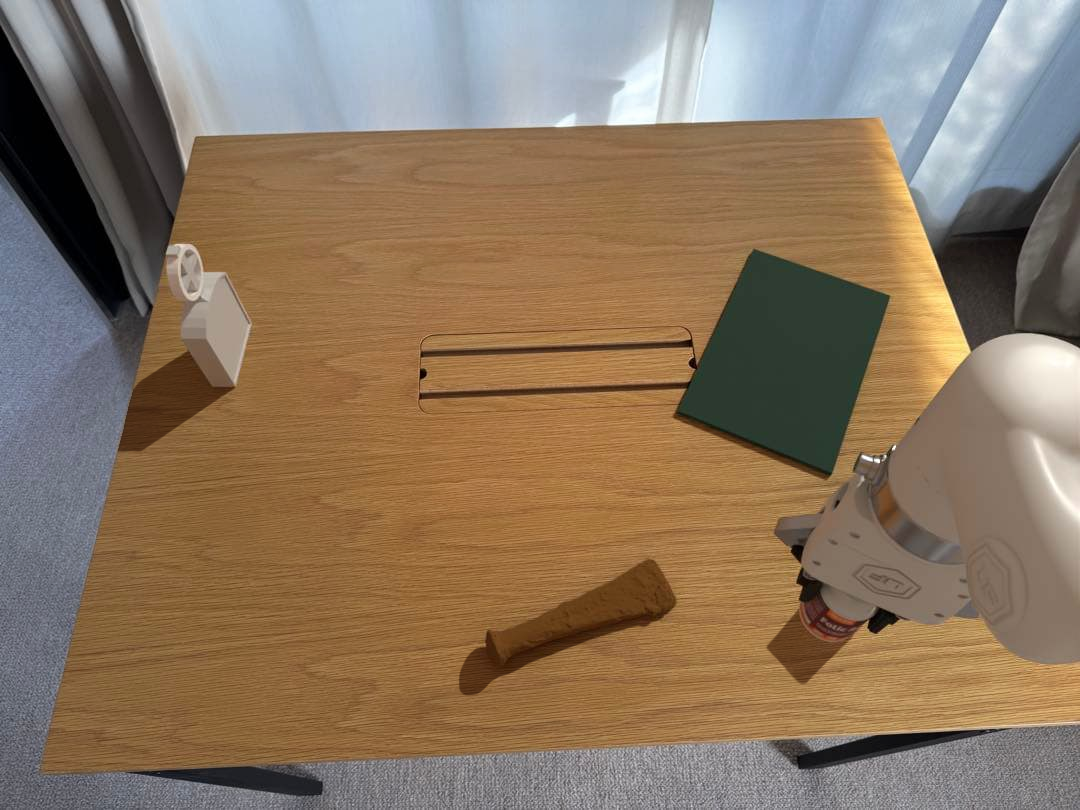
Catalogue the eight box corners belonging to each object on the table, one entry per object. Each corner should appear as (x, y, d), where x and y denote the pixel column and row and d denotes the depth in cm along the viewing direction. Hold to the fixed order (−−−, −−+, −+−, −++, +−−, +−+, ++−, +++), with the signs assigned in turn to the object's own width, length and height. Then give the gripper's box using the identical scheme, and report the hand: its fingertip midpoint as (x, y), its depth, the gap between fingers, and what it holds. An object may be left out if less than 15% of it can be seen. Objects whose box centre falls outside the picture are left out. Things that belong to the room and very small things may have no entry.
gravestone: (252, 323, 95) (197, 216, 80) (235, 386, 90) (174, 285, 75) (229, 323, 95) (171, 216, 80) (212, 386, 90) (146, 285, 75)
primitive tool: (652, 558, 79) (657, 546, 76) (680, 606, 76) (685, 595, 73) (480, 638, 75) (478, 629, 72) (503, 692, 72) (501, 684, 69)
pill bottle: (805, 644, 63) (838, 611, 56) (792, 588, 65) (822, 550, 58) (862, 642, 63) (902, 609, 56) (847, 586, 66) (884, 548, 59)
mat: (888, 298, 97) (890, 295, 97) (830, 475, 84) (832, 473, 84) (752, 251, 102) (753, 248, 101) (676, 413, 88) (677, 410, 88)
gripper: (784, 493, 46) (723, 595, 61) (1086, 617, 42) (941, 693, 57) (817, 400, 50) (752, 518, 65) (1098, 505, 46) (958, 605, 61)
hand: (841, 599), depth 61 cm, fingers closed on pill bottle, 4 cm apart
